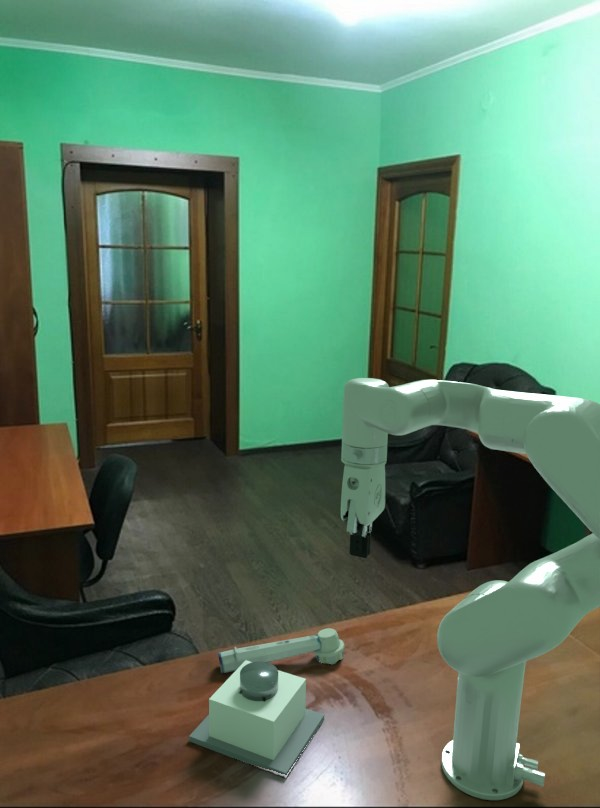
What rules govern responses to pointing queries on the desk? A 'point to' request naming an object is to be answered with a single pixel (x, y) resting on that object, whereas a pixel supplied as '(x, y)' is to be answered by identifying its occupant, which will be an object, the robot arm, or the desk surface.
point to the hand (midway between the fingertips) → (359, 554)
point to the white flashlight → (286, 650)
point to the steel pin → (259, 681)
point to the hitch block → (259, 724)
